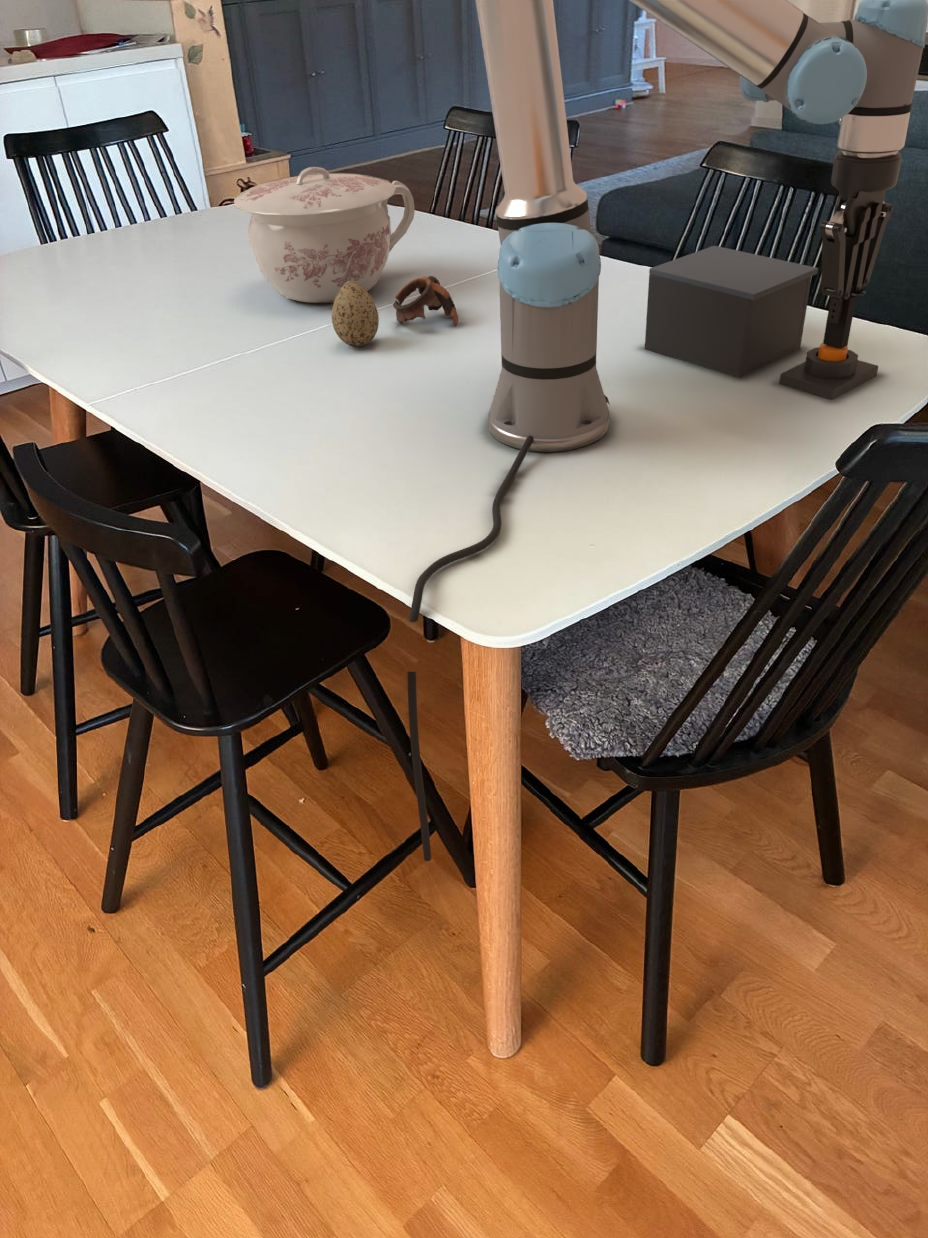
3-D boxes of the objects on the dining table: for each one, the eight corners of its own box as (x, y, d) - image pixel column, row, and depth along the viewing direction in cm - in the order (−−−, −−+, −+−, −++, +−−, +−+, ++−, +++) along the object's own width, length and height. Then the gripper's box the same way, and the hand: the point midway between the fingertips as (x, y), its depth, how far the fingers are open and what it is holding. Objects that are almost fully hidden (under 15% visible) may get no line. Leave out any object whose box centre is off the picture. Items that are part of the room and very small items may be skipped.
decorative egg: (390, 341, 152) (384, 277, 146) (361, 356, 148) (354, 290, 142) (355, 334, 156) (347, 271, 150) (326, 349, 151) (317, 284, 145)
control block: (876, 376, 132) (881, 351, 130) (831, 400, 127) (836, 374, 125) (824, 361, 137) (828, 337, 135) (778, 384, 132) (782, 359, 130)
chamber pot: (225, 314, 167) (199, 185, 154) (285, 267, 188) (267, 150, 176) (380, 320, 160) (366, 185, 148) (425, 270, 182) (416, 149, 170)
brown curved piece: (461, 335, 154) (434, 294, 149) (412, 359, 158) (383, 320, 153) (465, 292, 162) (439, 252, 156) (418, 316, 166) (391, 278, 160)
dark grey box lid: (817, 273, 135) (818, 267, 134) (753, 300, 127) (754, 294, 127) (713, 250, 146) (714, 245, 145) (649, 273, 138) (649, 268, 138)
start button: (850, 360, 130) (853, 345, 129) (835, 368, 128) (838, 353, 127) (826, 354, 132) (829, 339, 131) (811, 361, 131) (814, 346, 129)
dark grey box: (800, 348, 141) (812, 272, 135) (738, 378, 134) (748, 299, 128) (706, 322, 152) (713, 251, 146) (644, 348, 144) (649, 274, 138)
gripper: (869, 138, 121) (837, 325, 135) (809, 156, 114) (782, 351, 128) (927, 144, 116) (887, 337, 130) (868, 164, 109) (833, 365, 123)
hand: (835, 344), depth 129 cm, fingers closed
